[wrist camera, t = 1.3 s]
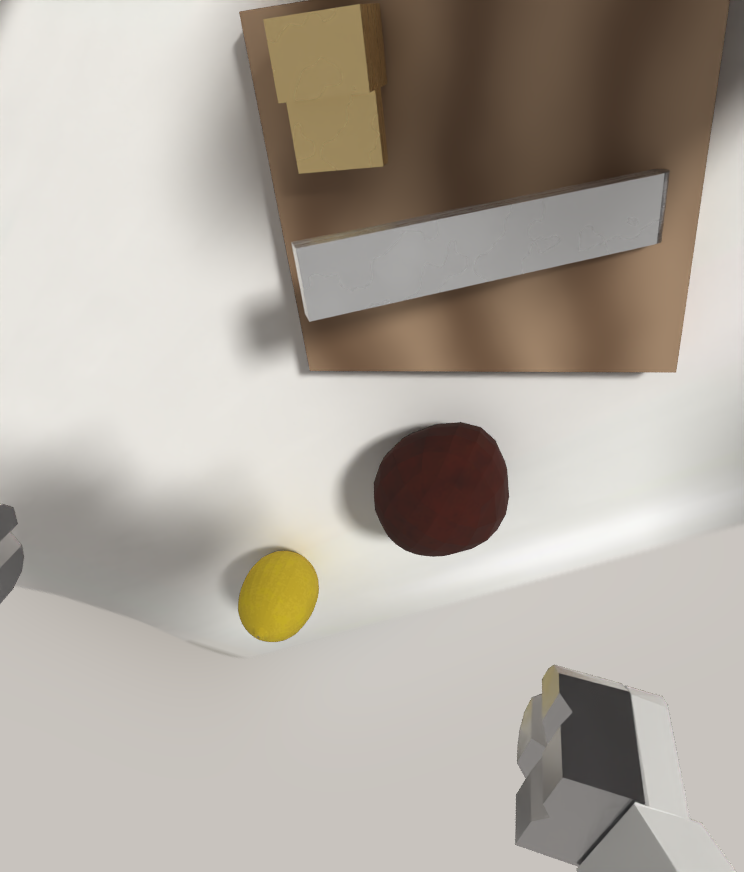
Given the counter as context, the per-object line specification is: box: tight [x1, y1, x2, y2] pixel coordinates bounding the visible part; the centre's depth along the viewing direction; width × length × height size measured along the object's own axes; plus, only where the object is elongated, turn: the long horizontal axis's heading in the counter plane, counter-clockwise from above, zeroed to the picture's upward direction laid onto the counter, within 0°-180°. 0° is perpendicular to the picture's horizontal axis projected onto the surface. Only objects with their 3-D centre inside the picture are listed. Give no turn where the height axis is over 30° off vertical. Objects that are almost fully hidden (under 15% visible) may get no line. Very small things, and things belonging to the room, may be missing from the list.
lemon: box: [238, 551, 319, 642], centre depth 48 cm, size 6×6×8 cm
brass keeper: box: [263, 3, 388, 174], centre depth 28 cm, size 4×6×3 cm, turn 7°
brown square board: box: [239, 0, 730, 372], centre depth 32 cm, size 20×18×2 cm
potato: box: [374, 422, 509, 556], centre depth 39 cm, size 8×9×8 cm
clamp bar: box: [291, 169, 670, 322], centre depth 27 cm, size 16×3×1 cm
